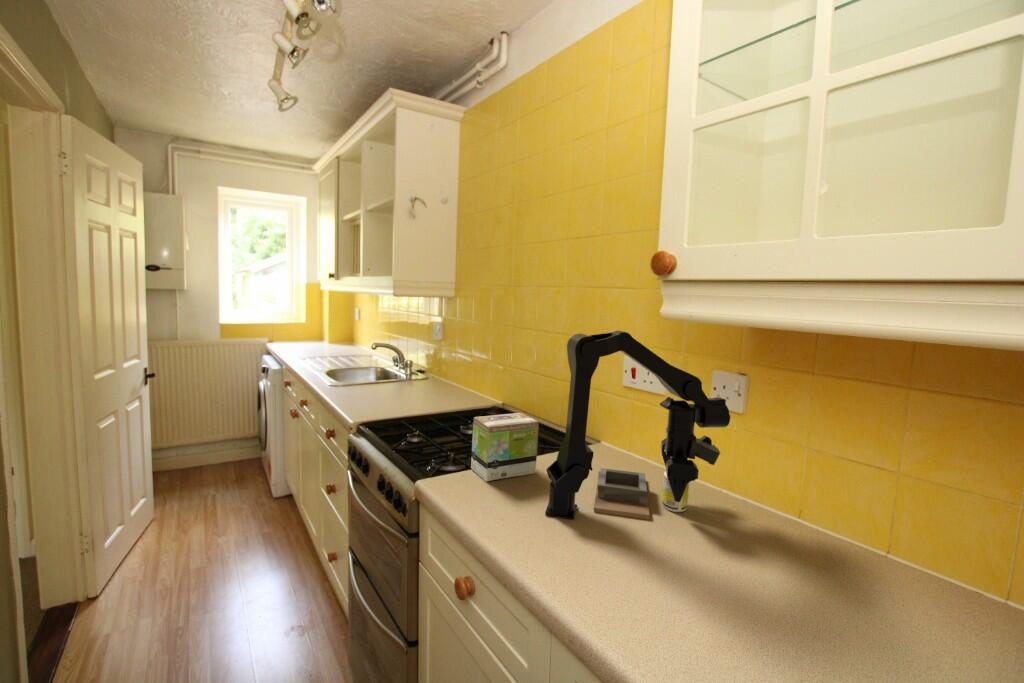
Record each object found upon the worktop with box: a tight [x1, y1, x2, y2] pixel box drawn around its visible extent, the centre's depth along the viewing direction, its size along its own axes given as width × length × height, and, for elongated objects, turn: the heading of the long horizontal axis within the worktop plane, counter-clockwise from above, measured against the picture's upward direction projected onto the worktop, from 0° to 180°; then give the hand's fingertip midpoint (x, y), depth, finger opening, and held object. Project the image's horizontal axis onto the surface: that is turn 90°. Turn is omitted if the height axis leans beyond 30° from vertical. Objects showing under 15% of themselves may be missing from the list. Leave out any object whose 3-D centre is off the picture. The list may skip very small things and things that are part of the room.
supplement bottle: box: [661, 470, 690, 513], centre depth 108 cm, size 6×6×10 cm
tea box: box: [470, 412, 540, 483], centre depth 125 cm, size 15×10×15 cm
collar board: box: [593, 467, 650, 521], centre depth 114 cm, size 22×12×4 cm, turn 167°
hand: (675, 492), depth 108 cm, fingers open, 9 cm apart
